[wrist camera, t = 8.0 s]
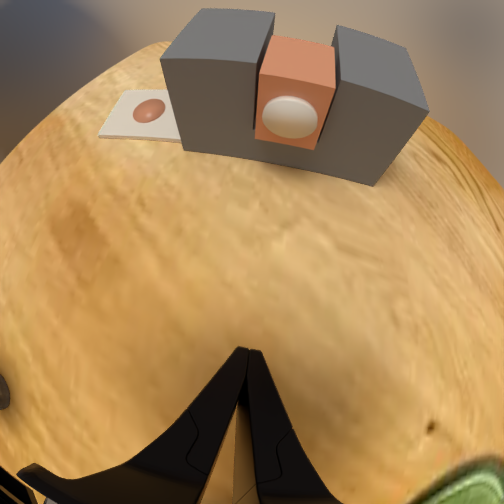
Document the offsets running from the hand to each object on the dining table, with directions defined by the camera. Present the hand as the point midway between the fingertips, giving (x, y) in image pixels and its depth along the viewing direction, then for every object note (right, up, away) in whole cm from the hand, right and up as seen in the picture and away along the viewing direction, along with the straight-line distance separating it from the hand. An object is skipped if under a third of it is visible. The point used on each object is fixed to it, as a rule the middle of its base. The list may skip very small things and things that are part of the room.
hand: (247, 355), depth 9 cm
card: (-12, +20, +20) cm, 30 cm away
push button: (+3, +15, +14) cm, 21 cm away
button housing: (+4, +17, +19) cm, 26 cm away
